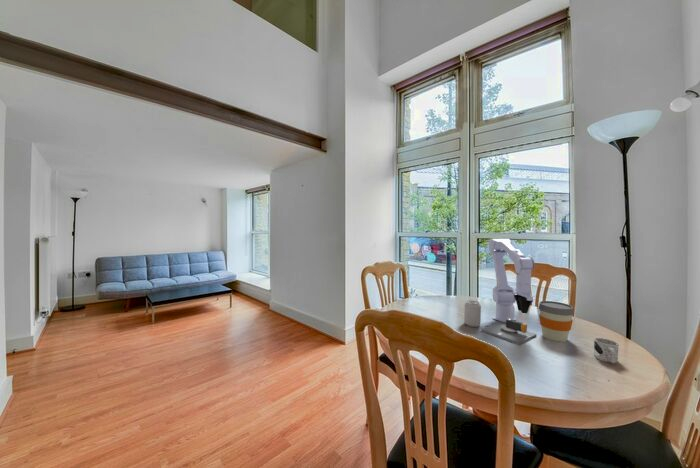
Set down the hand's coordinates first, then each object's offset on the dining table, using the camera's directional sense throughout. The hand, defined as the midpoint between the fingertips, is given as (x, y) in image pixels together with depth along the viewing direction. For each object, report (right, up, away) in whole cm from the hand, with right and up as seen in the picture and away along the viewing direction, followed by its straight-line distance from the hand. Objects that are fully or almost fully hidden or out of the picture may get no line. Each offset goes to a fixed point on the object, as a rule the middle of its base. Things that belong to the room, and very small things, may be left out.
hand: (522, 311), depth 123 cm
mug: (+17, -12, -24) cm, 31 cm away
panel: (-7, -10, 0) cm, 12 cm away
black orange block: (-4, -9, 0) cm, 10 cm away
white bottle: (-19, -10, +11) cm, 24 cm away
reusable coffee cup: (+12, -11, -4) cm, 17 cm away
